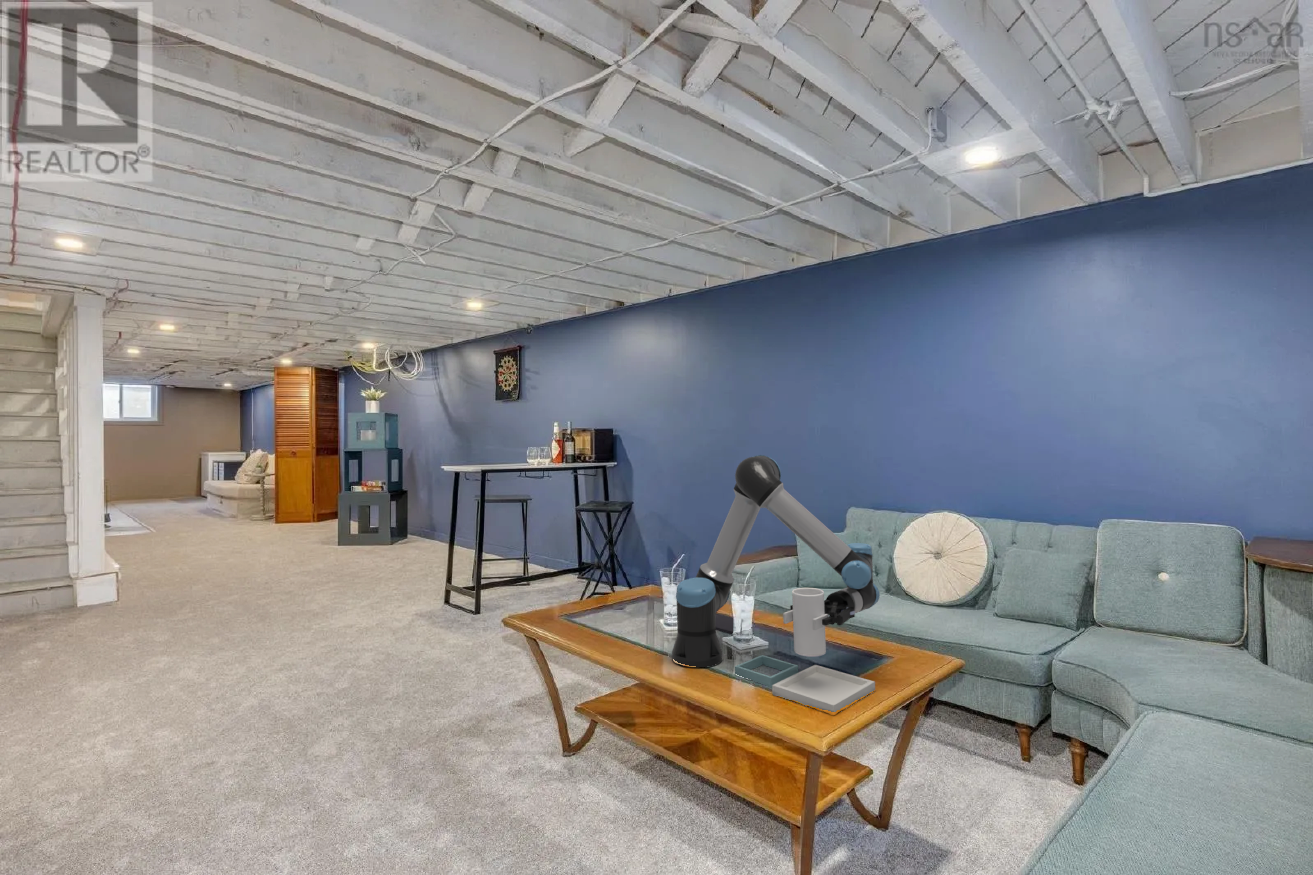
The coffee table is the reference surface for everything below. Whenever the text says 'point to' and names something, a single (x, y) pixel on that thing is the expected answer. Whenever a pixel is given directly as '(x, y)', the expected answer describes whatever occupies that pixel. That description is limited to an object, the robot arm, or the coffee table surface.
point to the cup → (808, 621)
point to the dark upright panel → (724, 624)
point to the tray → (823, 688)
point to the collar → (786, 667)
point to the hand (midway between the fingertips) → (799, 621)
